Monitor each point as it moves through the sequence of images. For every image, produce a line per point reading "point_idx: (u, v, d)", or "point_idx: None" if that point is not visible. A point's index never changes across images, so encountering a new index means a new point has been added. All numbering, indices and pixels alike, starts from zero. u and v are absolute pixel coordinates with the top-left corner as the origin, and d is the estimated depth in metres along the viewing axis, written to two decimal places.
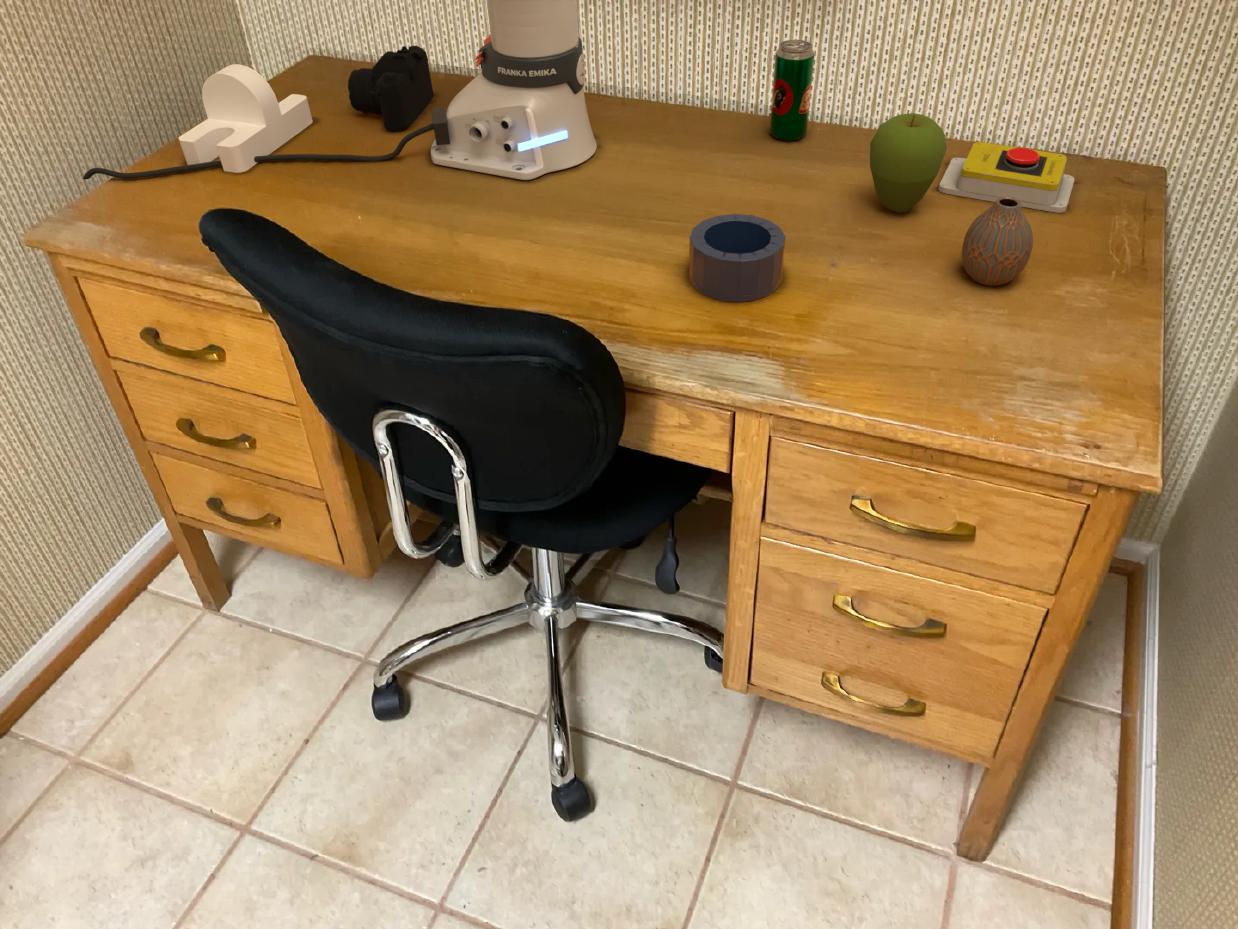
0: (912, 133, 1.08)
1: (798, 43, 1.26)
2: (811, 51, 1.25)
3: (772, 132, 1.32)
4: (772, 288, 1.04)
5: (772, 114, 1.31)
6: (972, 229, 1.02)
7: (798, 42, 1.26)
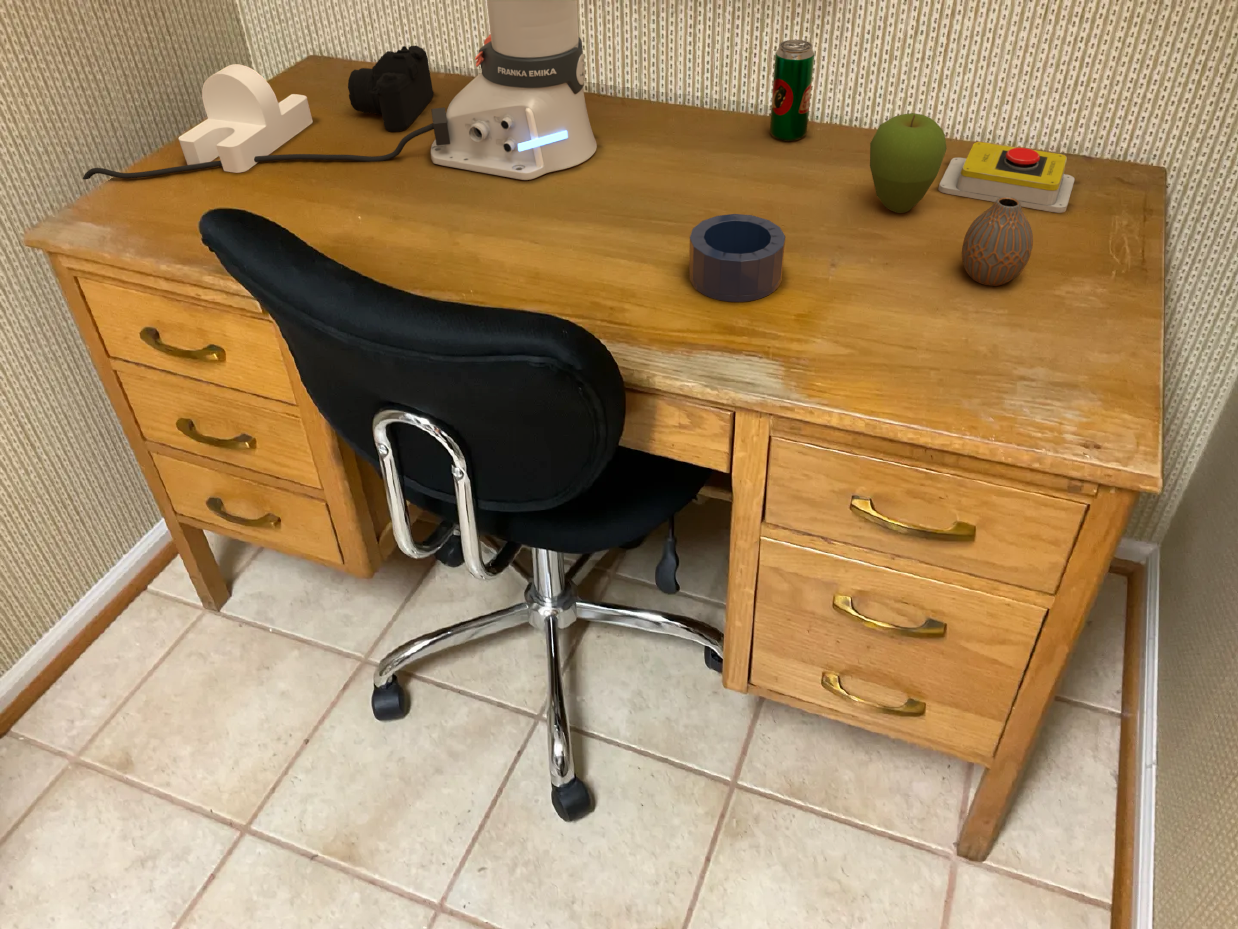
0: (912, 133, 1.08)
1: (798, 43, 1.26)
2: (811, 51, 1.25)
3: (772, 132, 1.32)
4: (772, 288, 1.04)
5: (772, 114, 1.31)
6: (972, 229, 1.02)
7: (798, 42, 1.26)
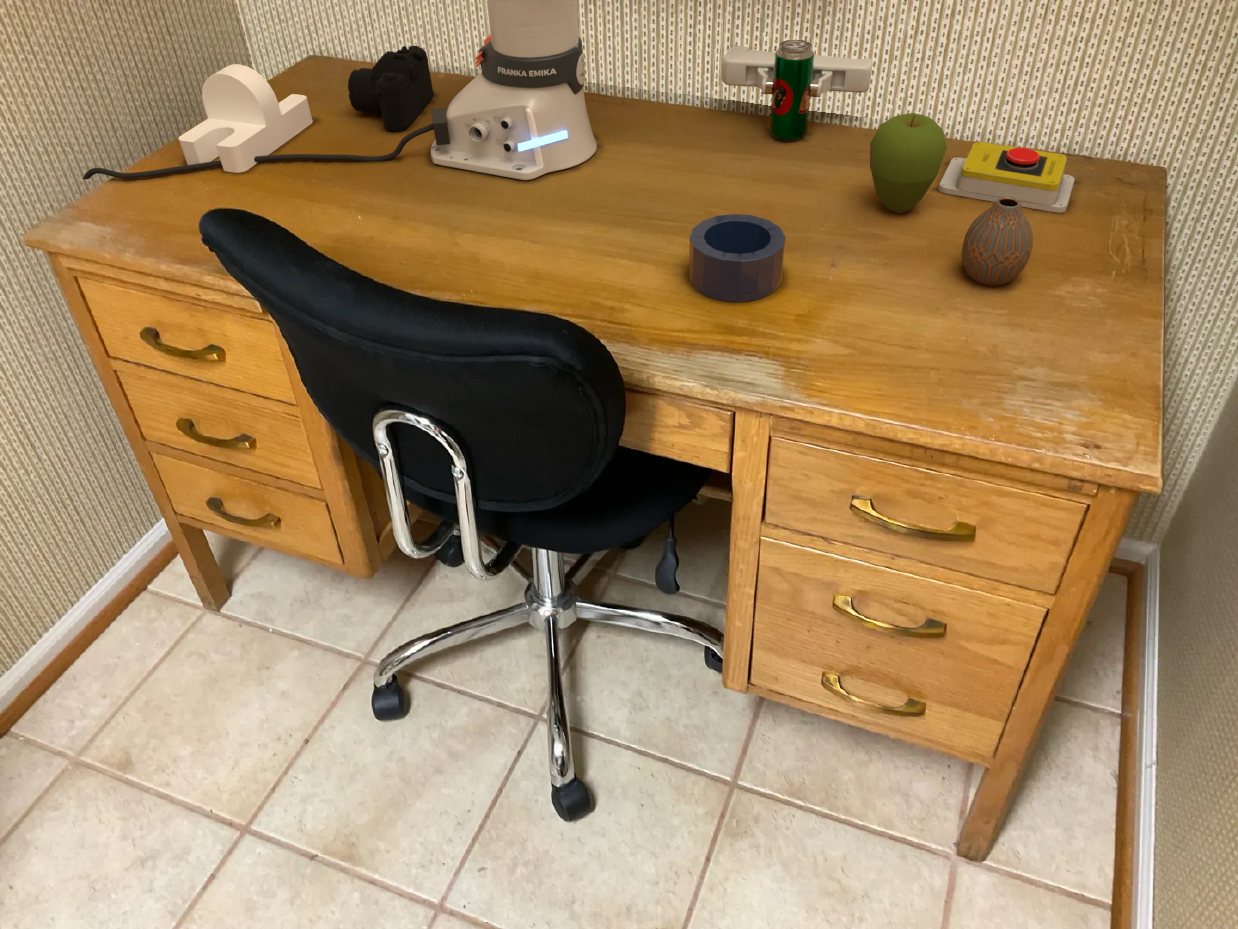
0: (912, 133, 1.08)
1: (798, 43, 1.26)
2: (811, 51, 1.25)
3: (772, 132, 1.32)
4: (772, 288, 1.04)
5: (772, 114, 1.31)
6: (972, 229, 1.02)
7: (798, 42, 1.26)
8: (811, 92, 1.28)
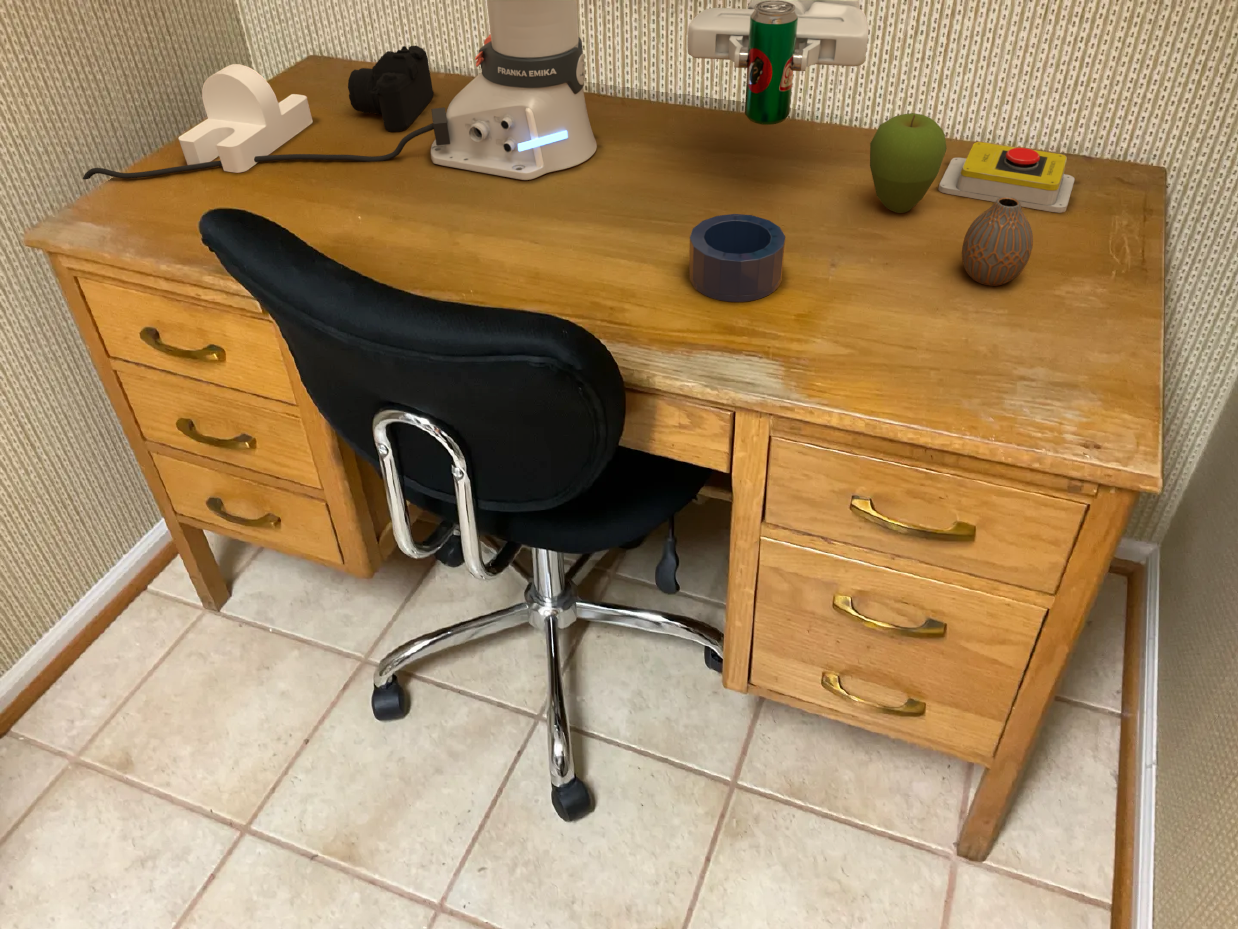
0: (912, 133, 1.08)
1: (778, 4, 1.03)
2: (794, 14, 1.02)
3: (747, 114, 1.09)
4: (772, 288, 1.04)
5: (747, 92, 1.08)
6: (972, 229, 1.02)
7: (778, 3, 1.03)
8: (794, 65, 1.05)
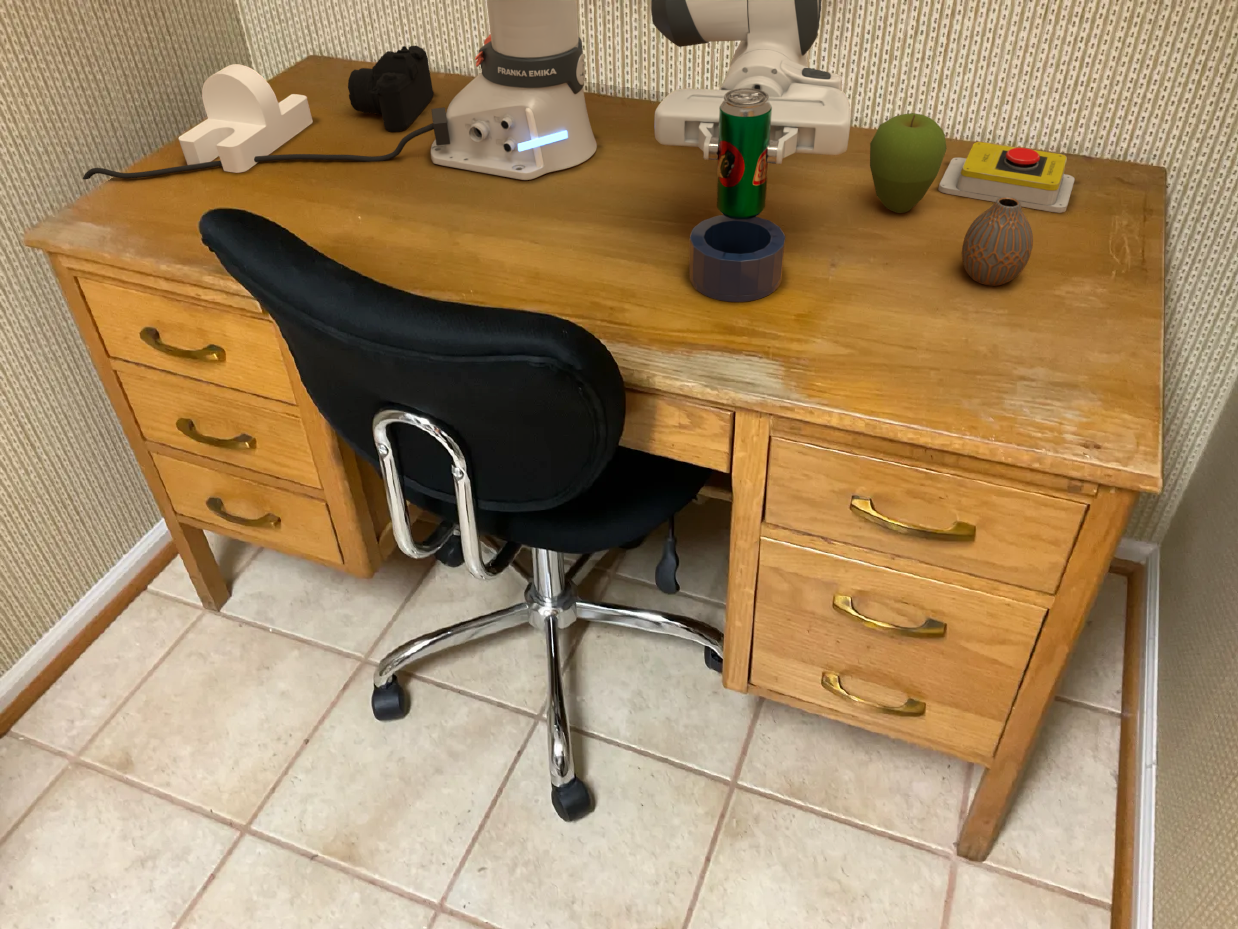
0: (912, 133, 1.08)
1: (750, 93, 0.94)
2: (767, 105, 0.93)
3: (719, 208, 1.00)
4: (772, 288, 1.04)
5: (718, 185, 0.99)
6: (972, 229, 1.02)
7: (750, 92, 0.94)
8: (769, 158, 0.96)
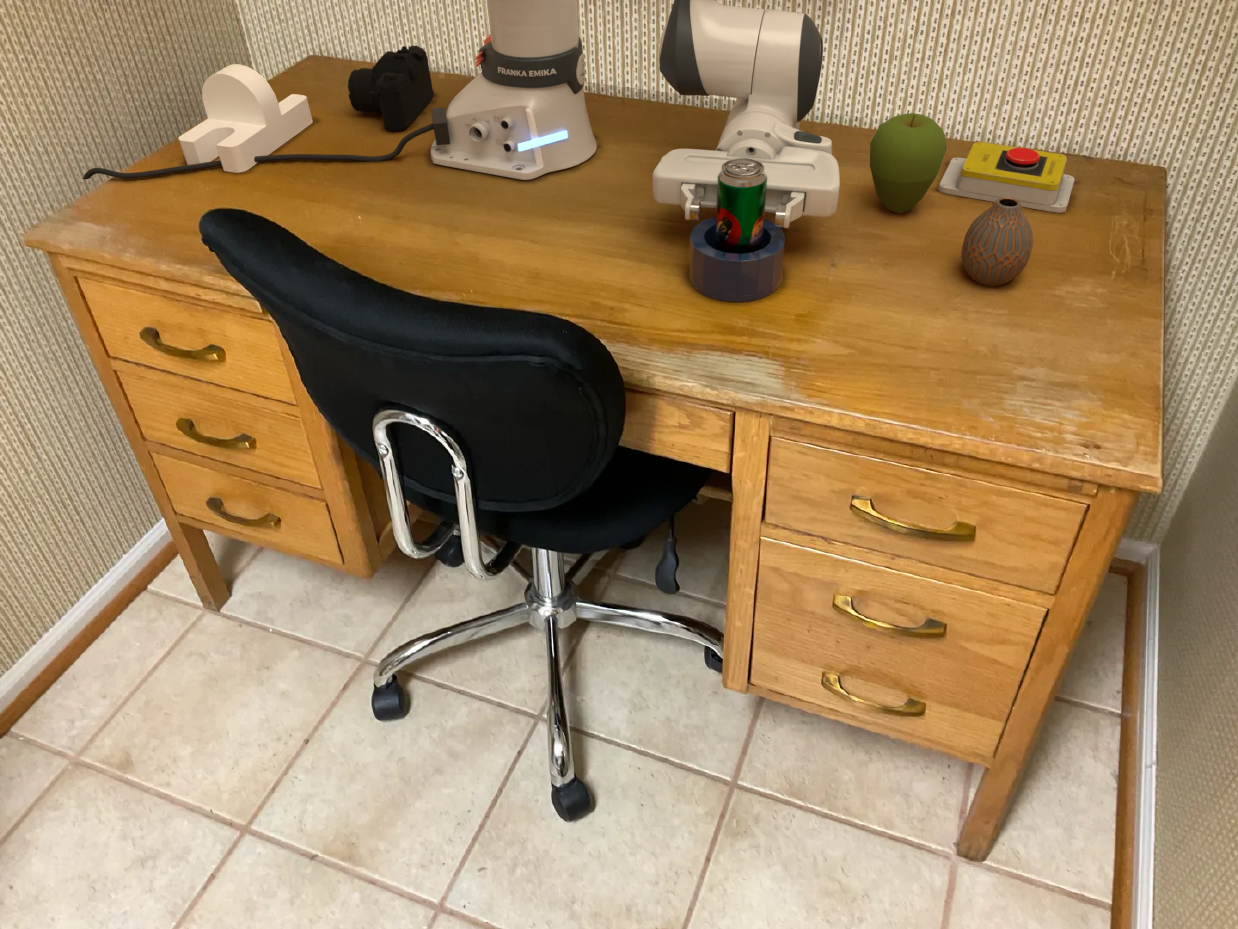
0: (912, 133, 1.08)
1: (746, 164, 0.99)
2: (762, 175, 0.98)
3: None
4: (772, 288, 1.04)
5: (716, 248, 1.04)
6: (972, 229, 1.02)
7: (746, 162, 0.99)
8: (777, 222, 1.00)
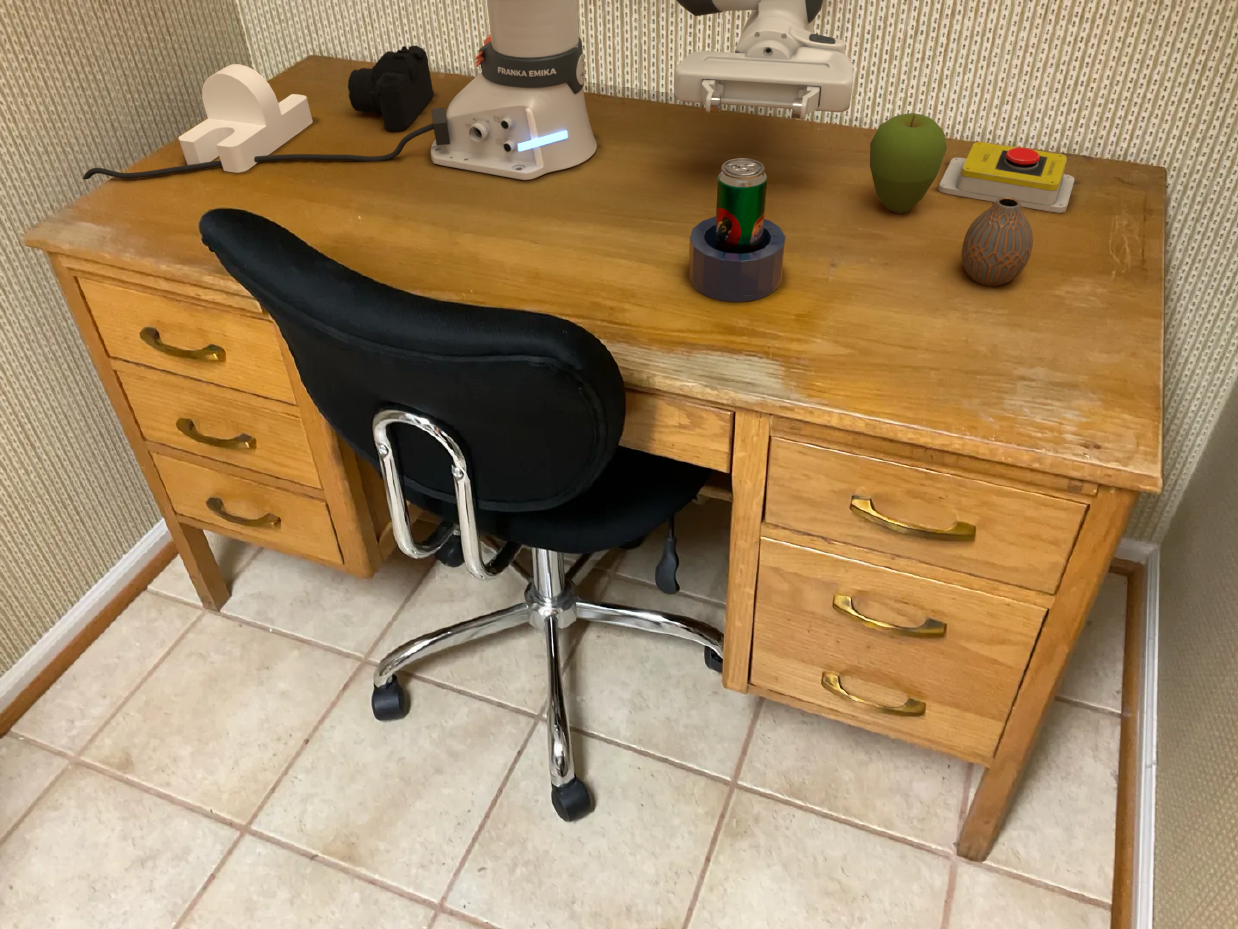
0: (912, 133, 1.08)
1: (746, 164, 0.99)
2: (762, 175, 0.98)
3: None
4: (772, 288, 1.04)
5: (716, 248, 1.04)
6: (972, 229, 1.02)
7: (746, 162, 0.99)
8: (794, 113, 1.05)
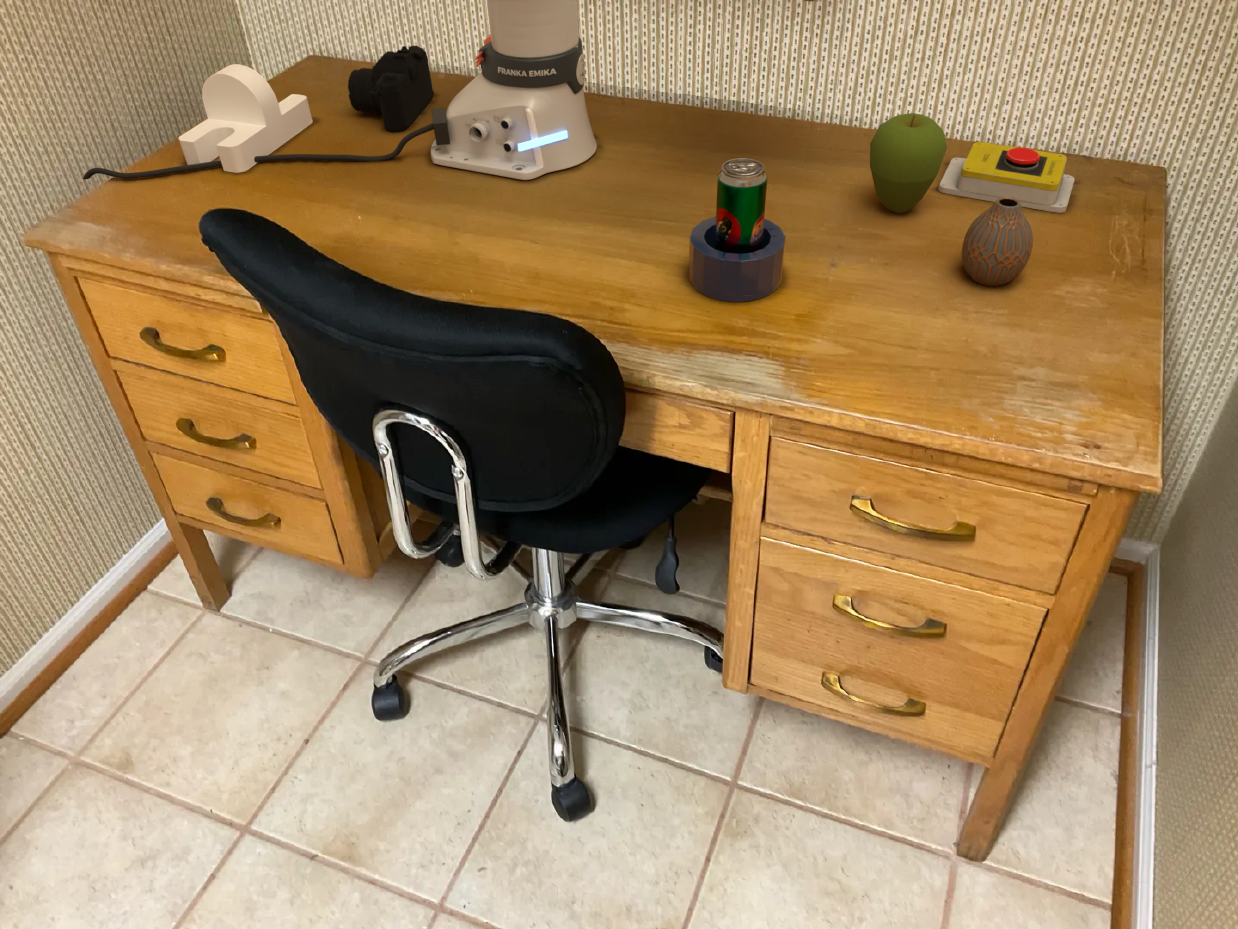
0: (912, 133, 1.08)
1: (746, 164, 0.99)
2: (762, 175, 0.98)
3: None
4: (772, 288, 1.04)
5: (716, 248, 1.04)
6: (972, 229, 1.02)
7: (746, 162, 0.99)
8: None
